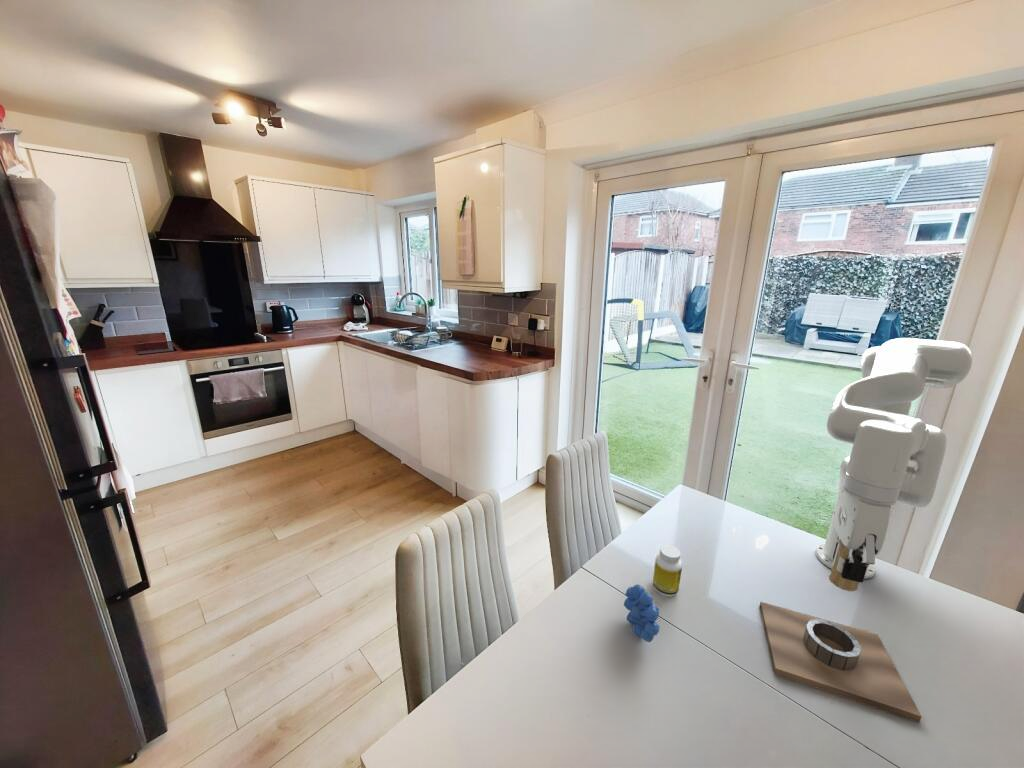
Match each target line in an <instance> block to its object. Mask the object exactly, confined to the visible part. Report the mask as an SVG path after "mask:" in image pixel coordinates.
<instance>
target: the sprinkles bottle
mask: <svg viewBox="0 0 1024 768" xmlns="http://www.w3.org/2000/svg"><path fill="white" fill-rule="evenodd" d="M860 547H863V545H861V546H860ZM849 550H850V549H848V548H846V547H845V545H844V544H843V543H842V541H841V539H840V540H839V542H838V546H837V549H836V553H835V557H834V561H833V566H832V569H830V573H829V576H828V580H829V581H830V583H832V584H833V585H834V586H835V587H837V588H839V589H841V590H844V591H846V592H856V591H858V589H859V583H860V582H856V581H852V580H848V579H844V578H842V576H841V573H842V569H843V566H844V562H845V559H848V556H849ZM856 555H860V556H861V555H863V552H859V551H856V553H855V556H856Z"/></svg>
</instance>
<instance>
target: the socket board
mask: <svg viewBox="0 0 1024 768" xmlns="http://www.w3.org/2000/svg"><path fill="white" fill-rule="evenodd" d="M758 607H759V612H760V616H761V620H762V624H763V628H764V634H765V637H766V638H765V639H766V643H767V647H768V648H767V649H768V652H769V656H770V657H769V658H770V662H771V666H772V670H773V675H776V676H779V677H782V678H785V679H789V680H791V681H793V682H797V683H800V684H803V685H805V686H810V687H812V688H814V689H818V690H821V691H823V692H826V693H829V694H833V695H836V696H839V697H842V698H845V699H848V700H851V701H854V702H856V703H860V704H863V705H865V706H869V707H872V708H873V709H877V710H880V711H884V712H886V713H890V714H892V715H895V716H898V717H902V718H905V719H907V720H911V721H914V722H917V723H920V722H921V719H922V714H921V713H920V711H919V709H918V707H917V705H916V703H915V701H914V699H913V697H912V696H911V694H910V692H909V690H908V688H907V686H906V684H905V683H904V681H903V678H902V677H901V674H900V673H899V670H897V669H898V668H897V667H896V666H895V664H894V662H893V660H892V658H891V656H890V654H889V652H888V651H887V648H886V647H885V645H884V644H883V642H882V639H881V637H880V636H879V634H878V633H874V632H871V631H867V630H863V629H860V628H857V627H852V626H849V625H845V624H842V623H839V622H836V621H831V620H828V619H825V618H821V617H817V616H813V615H810V614H808V613H807V614H806V613H802V612H800V611H795V610H791V609H788V608H784V607H781V606H777V605H774V604H770V603H766V602H763V601H760V602H759V606H758ZM815 619H822V620H825V621H829V622H832V623H834V624H836V625H838V626H840V627H842V628H843V629H845V630H846V631H848V632H849V633H850V634H851V635H852V636H853V637H854V638H855V639H856V640H857V641H858V643H859V645H860V647H861V652H860V656H859V659H858V662H857V664H856V666H855V668H854V669H853V670H848V671H842V670H838V669H835V668H832V667H830V666H827V665H826V664H824V663H823V662H821V661H819V660H818V659H816V657H814V656H813V655H812V654H811V653H810V652H809V651H808V649H807V648H806V647H805V644H804V641H803V636H804V632H805V629H806V625H807V624H808V622H809V621H810V620H815ZM816 637H817V638H818V639H819V640H820V641H821V642H822V643H824V644H826V645H827V646H829V647H831V648H832V649H835V650H838V651H841V652H846V651H845V650H844V649H843V648H842V647H841V646H840V645H839V644H837V643H835V642H833V641H832V640H830V639H827V638H824V637H821V636H816Z"/></svg>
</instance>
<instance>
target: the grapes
mask: <svg viewBox="0 0 1024 768" xmlns="http://www.w3.org/2000/svg"><path fill="white" fill-rule="evenodd" d="M625 596H626V598H625V600H624V602H623V606H624V607H625V608H626V609H627V610H628V611H629V612H628V613H627V615H626V621H627V622H628V623H629V624H630V625H633V629H632V632H633V634H634V635H636V636H637V638H638V637H639V638H642V640H643V641H645V642H646V643H650V642H651V643H652V641H653V640H654V638H655V636H657V635H658V634H659V632H660V625H659V624H658V623H657V620H658V618H659V615H660V608H659V607H658V606H657V605H656V604H654V603H653V601H654V597H653V596H652V595H651V594H650V593H649V592H647V591H646V589H645V588H644V587H643V586H642V585H640V584H637V583H636V584H634V585H633V586H630V587H629V586H628V588H627V589H626V591H625Z"/></svg>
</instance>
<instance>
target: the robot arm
mask: <svg viewBox="0 0 1024 768" xmlns="http://www.w3.org/2000/svg"><path fill="white" fill-rule="evenodd" d="M860 363H861V365H860V366H861V376H862V379H859V380H856V381H855V382H852V383H850V384H848V385H847V386H845V387H843V389H841V390H840V391H839V392H838V394H837V395H836V397H835V399H834V401H833V404H832V406H831V409H830V412H829V415H828V417H827V421H826V422H827V424H826V429H827V433H828V434H829V436H830V437H831V438H833V439H834V440H836V441H840V442H843V443H846V444H847V443H848V444H850V445H851V444H852V447H851V452H850V455H848V456H846V457H844V458H843V460H842V461H841V464H840V468H839V481H838V482H839V484H838V491H837V496H836V499H835V500H836V501H835V504H834V507H833V513H832V517H831V520H830V524H829V526H828V527H829V528H828V532H827V536H826V540H825V544H820V545H818V546H817V547H816V549H815V555H816V557H817V559H818V560H819V561H820V562H821V563H822V564H823V565H825V566H826V567H827V568H829V569H830V570H832V566H833V561H834V557H835V553H836V549H837V546H838V542H839V540H840V539H841V541H842V543H843V544H844V545H845V547H846V548H848V549H850V550H849V556H848V559H845V562H844V566H843V569H842V573H841V576H842V578H844V579H848V580H852V581H856V582H859V583H863V582H864V580H867V579H871V578H872V577H874V575H875V573H876V568H875V567H874V565H875V564H876V556H877V555H879V554H880V553H881V552H882V549H883V546H884V543H885V541H886V540H885V539H886V537H887V531H888V527H889V522H890V517H891V516H890V515H891V512H892V511H891V508H892V506H894V505H896V504H897V503H898V504H901V505H905V506H908V507H913V508H917V509H919V508H921V509H922V508H926V507H927V506H929V504H930V503H932V500H933V498H934V495H935V490H936V488H937V483H938V480H939V476H940V472H941V468H942V465H943V461H944V456H945V453H946V450H947V449H946V448H947V436H946V433H945V431H944V430H942V429H941V428H940V427H937V426H934V425H932V424H926V423H925V421H923V420H922V419H921V418H919V417H916V416H914V415H913V416H912V415H909V413H910V410H911V407H912V402H913V401H915V400H917V399H918V398H919V397H920V396H922V394H923V393H924V390H925V387H931V388H938V389H950V388H953V387H955V386H956V385H958V384H960V383H962V381H964V380H965V379H966V378H967V376H968V374H969V372H970V371H971V368H972V364H973V356H972V352H971V350H970V348H969V347H968V346H967V345H966V344H963V343H961V342H957V341H948V340H938V339H936V340H935V339H925V338H914V337H912V338H911V337H900V338H899V337H898V338H894V339H889V340H888V341H885V342H884V343H882V345H881V346H880V345H879V346H871V347H870V348H867V349H866V350H865V351H864V353H862V358H861V362H860ZM909 462H911V463H912V465H913V466H910V465H909ZM861 545H863V547H860V546H861ZM856 551H859V552H863V555H861V556H860V555H856V556H855V553H856Z"/></svg>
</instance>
